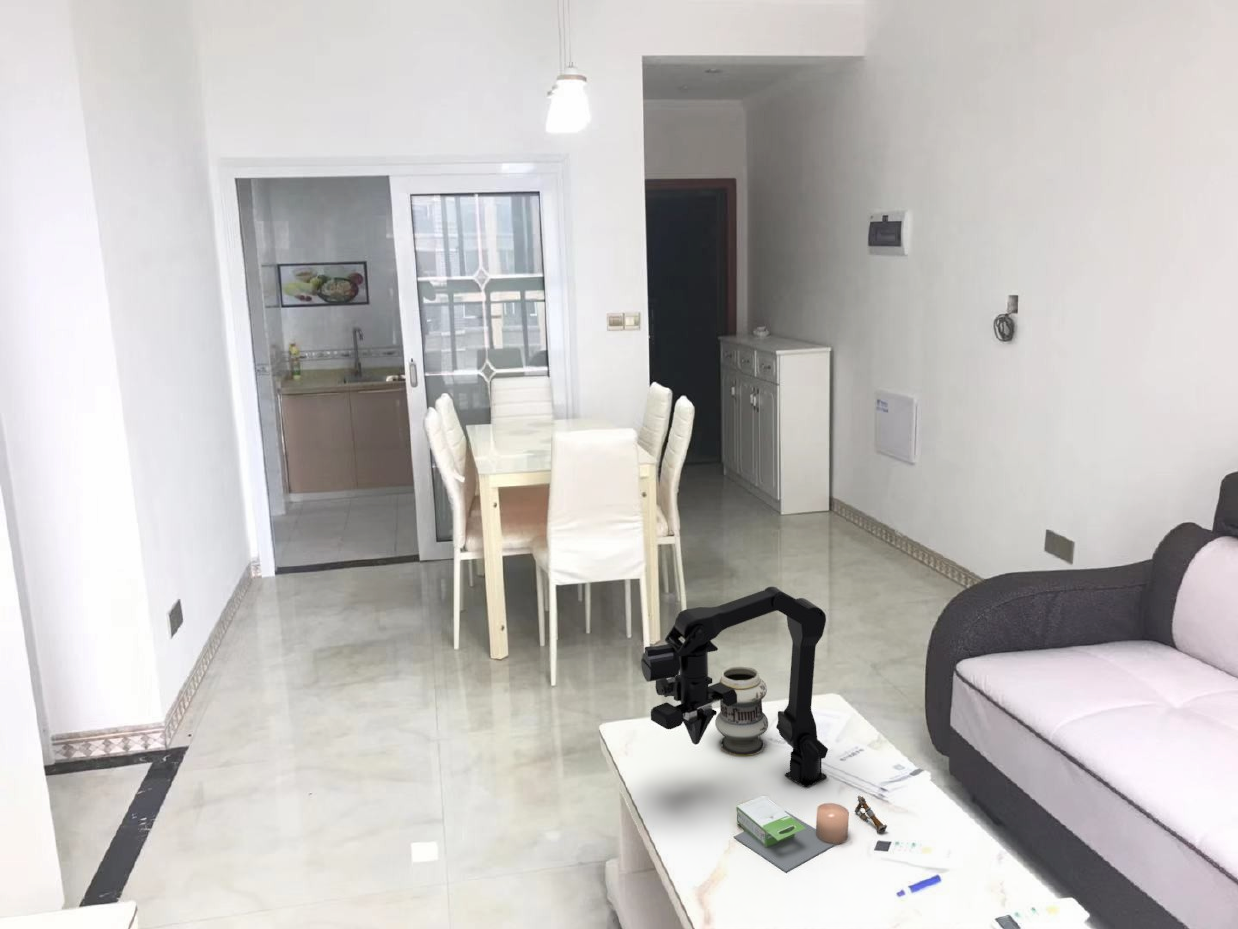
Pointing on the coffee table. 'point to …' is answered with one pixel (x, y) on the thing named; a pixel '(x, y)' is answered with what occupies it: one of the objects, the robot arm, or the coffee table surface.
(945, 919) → the coffee table surface
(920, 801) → the coffee table surface
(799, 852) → the slate mat
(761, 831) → the ink box
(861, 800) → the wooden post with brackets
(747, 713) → the apothecary jar
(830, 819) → the peach pillar candle
